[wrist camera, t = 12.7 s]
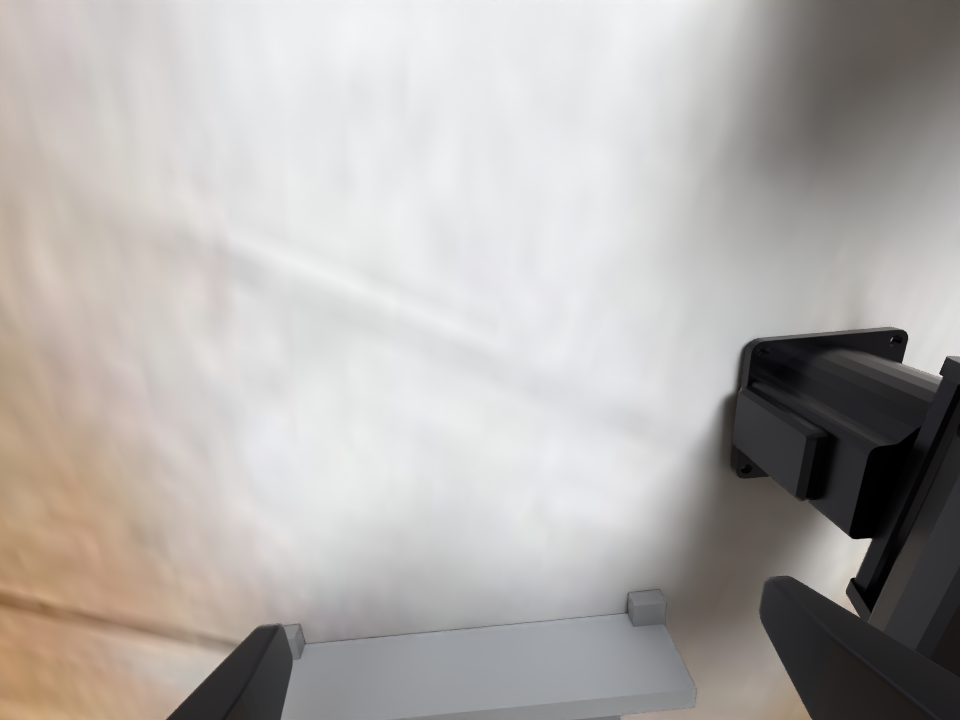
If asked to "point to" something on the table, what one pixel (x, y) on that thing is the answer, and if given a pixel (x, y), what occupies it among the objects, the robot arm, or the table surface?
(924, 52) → the table surface
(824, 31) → the table surface
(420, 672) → the long gray bar
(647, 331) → the table surface
